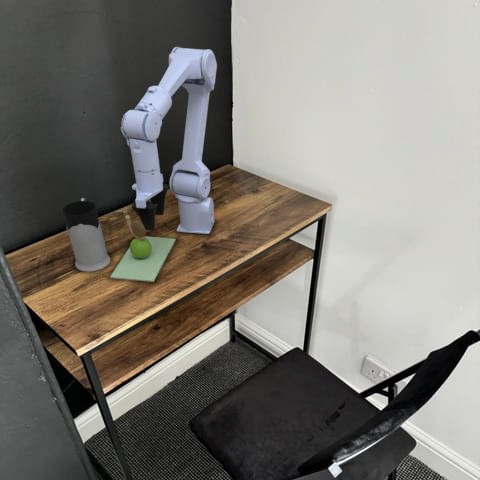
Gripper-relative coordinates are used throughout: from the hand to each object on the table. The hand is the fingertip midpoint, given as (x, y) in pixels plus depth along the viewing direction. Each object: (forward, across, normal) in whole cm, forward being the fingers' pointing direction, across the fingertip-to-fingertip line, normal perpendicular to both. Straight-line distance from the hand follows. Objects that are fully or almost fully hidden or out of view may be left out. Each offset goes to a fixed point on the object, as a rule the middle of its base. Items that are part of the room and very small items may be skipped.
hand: (154, 221), depth 112 cm
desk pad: (+10, +1, -4) cm, 11 cm away
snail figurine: (+10, 0, -5) cm, 11 cm away
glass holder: (+10, +2, -18) cm, 20 cm away
